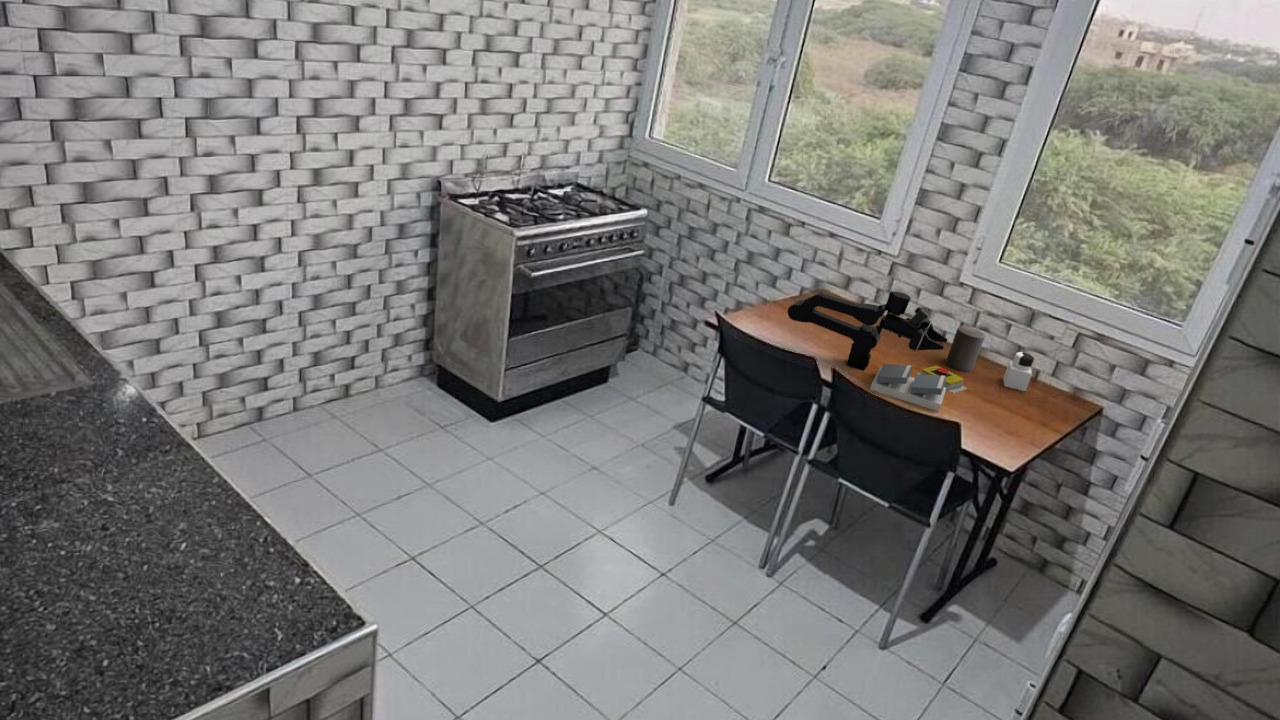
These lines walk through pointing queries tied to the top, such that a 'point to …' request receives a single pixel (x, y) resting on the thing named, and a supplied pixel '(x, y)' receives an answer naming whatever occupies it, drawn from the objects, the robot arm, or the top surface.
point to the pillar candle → (965, 348)
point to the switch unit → (908, 393)
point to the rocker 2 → (928, 384)
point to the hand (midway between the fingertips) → (945, 344)
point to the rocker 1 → (894, 373)
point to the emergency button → (952, 380)
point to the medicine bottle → (1019, 371)
